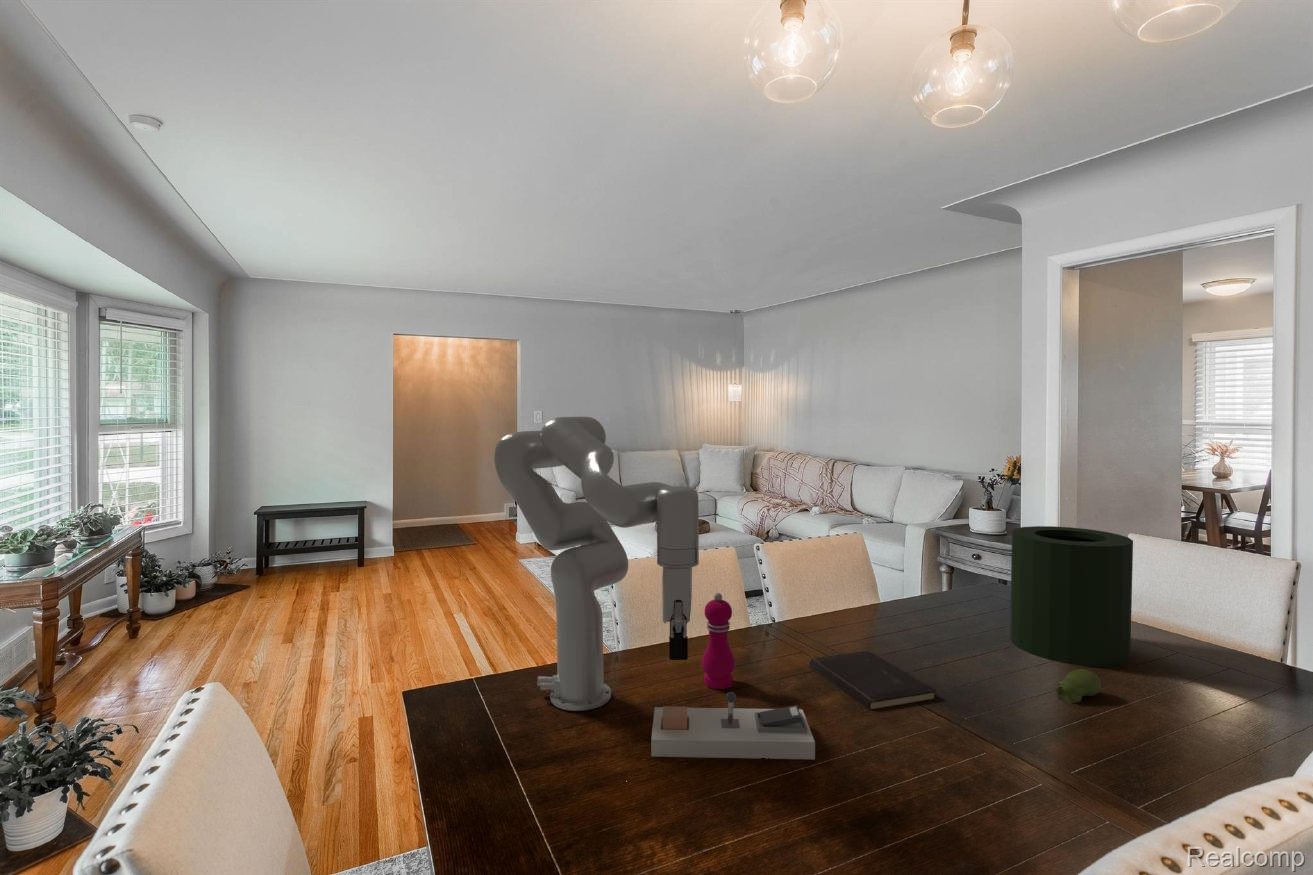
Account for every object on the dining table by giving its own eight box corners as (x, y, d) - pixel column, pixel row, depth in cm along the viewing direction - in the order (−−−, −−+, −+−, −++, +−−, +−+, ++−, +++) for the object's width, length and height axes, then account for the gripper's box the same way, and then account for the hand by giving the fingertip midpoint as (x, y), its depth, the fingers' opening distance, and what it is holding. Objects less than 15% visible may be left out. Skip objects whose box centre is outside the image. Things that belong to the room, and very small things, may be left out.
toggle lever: (725, 726, 115) (726, 697, 112) (725, 718, 117) (725, 689, 114) (735, 726, 115) (736, 697, 112) (734, 718, 116) (735, 689, 114)
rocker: (763, 729, 113) (762, 723, 113) (760, 717, 118) (759, 711, 118) (802, 721, 113) (801, 716, 113) (798, 710, 117) (796, 704, 117)
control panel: (651, 756, 111) (651, 734, 110) (654, 722, 123) (654, 703, 122) (814, 759, 109) (814, 737, 109) (802, 724, 121) (802, 705, 121)
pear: (1105, 671, 131) (1074, 688, 127) (1107, 695, 132) (1076, 712, 128) (1078, 661, 136) (1047, 677, 132) (1080, 684, 137) (1049, 700, 133)
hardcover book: (868, 659, 154) (868, 650, 153) (936, 701, 132) (936, 690, 131) (809, 668, 149) (809, 658, 149) (869, 712, 127) (869, 701, 127)
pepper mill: (733, 691, 136) (733, 598, 135) (699, 689, 137) (699, 596, 136) (736, 677, 143) (736, 589, 142) (704, 675, 144) (703, 587, 143)
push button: (662, 733, 114) (662, 717, 114) (663, 721, 119) (663, 706, 118) (687, 733, 114) (687, 718, 114) (687, 721, 118) (687, 706, 118)
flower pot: (1125, 640, 163) (1128, 531, 162) (1135, 675, 142) (1138, 550, 141) (1013, 623, 177) (1014, 523, 176) (1006, 653, 156) (1008, 539, 154)
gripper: (658, 545, 124) (658, 632, 125) (655, 567, 107) (656, 668, 108) (697, 545, 124) (697, 632, 125) (700, 567, 107) (701, 668, 107)
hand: (678, 648), depth 116 cm, fingers open, 9 cm apart
